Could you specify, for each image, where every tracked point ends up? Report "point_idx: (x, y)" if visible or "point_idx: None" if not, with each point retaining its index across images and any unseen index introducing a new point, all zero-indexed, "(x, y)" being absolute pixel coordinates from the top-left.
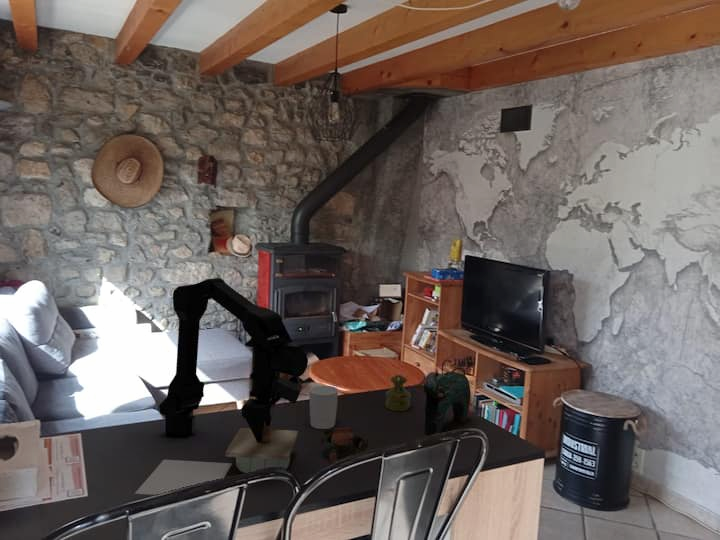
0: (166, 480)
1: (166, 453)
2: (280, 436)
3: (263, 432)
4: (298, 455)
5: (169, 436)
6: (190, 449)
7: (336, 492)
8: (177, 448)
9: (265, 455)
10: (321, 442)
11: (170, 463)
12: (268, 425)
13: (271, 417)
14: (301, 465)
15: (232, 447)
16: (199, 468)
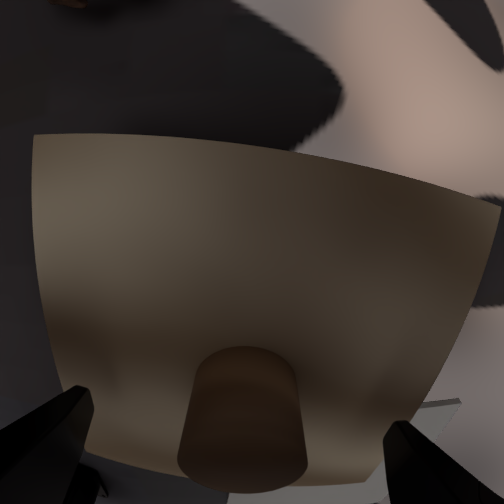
0: (340, 491)
1: (178, 499)
2: (147, 273)
3: (437, 464)
4: (124, 127)
5: (103, 492)
6: (144, 472)
7: (481, 15)
8: (146, 486)
9: (448, 344)
10: (82, 4)
11: (247, 500)
12: (87, 396)
13: (47, 428)
14: (246, 102)
15: (323, 477)
16: None
